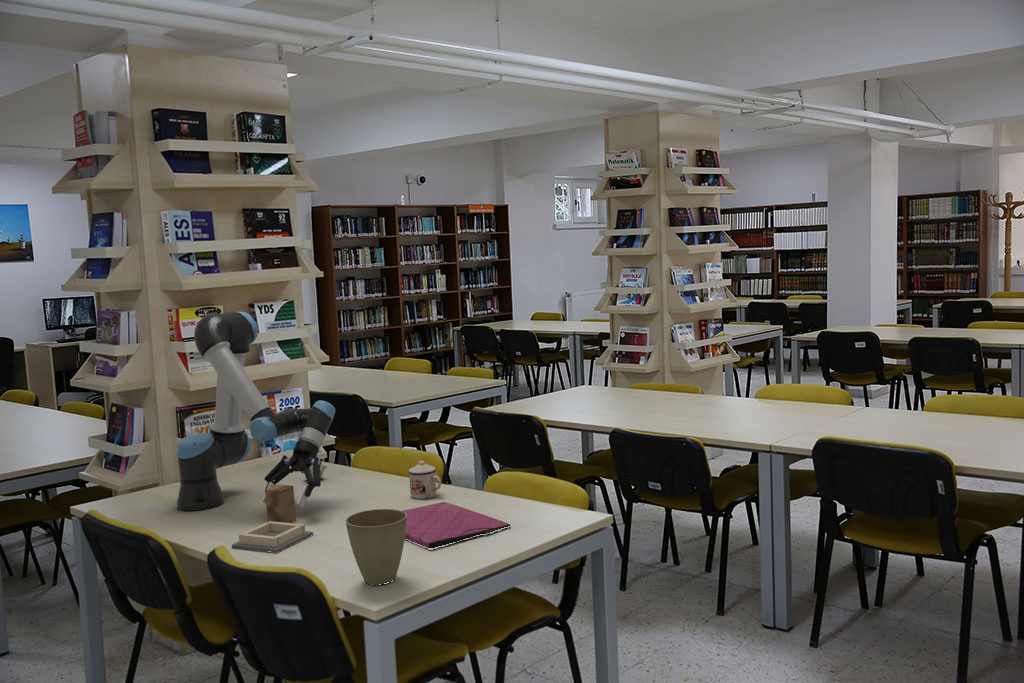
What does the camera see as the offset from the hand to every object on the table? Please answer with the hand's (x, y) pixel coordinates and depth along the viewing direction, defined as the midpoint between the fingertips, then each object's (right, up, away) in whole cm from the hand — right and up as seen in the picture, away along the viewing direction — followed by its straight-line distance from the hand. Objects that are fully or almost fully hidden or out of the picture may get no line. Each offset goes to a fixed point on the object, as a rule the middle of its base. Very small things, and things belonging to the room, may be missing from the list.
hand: (282, 504), depth 269 cm
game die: (-2, -1, +52) cm, 52 cm away
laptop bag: (+50, -5, -13) cm, 52 cm away
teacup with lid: (+43, -2, +22) cm, 48 cm away
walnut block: (0, -6, +1) cm, 6 cm away
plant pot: (+38, -9, -53) cm, 66 cm away
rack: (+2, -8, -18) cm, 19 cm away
